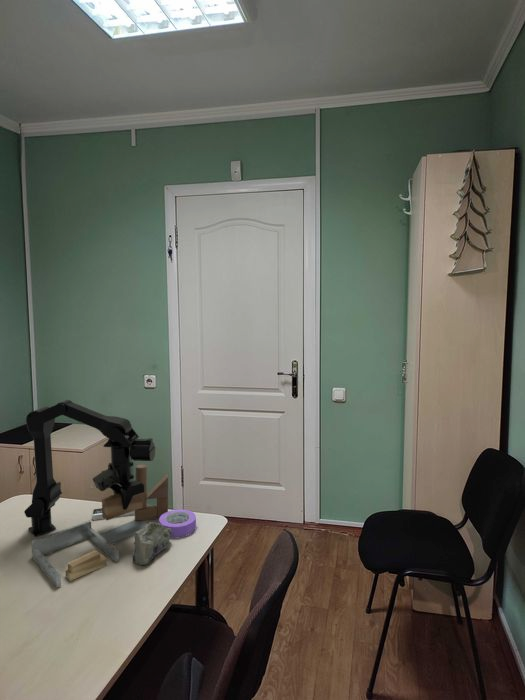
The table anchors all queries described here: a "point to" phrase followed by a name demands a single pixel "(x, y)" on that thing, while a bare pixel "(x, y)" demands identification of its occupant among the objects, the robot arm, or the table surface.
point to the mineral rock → (150, 542)
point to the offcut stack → (85, 565)
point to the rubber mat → (122, 531)
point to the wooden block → (152, 496)
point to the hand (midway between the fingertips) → (122, 507)
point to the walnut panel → (119, 505)
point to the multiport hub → (98, 515)
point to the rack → (66, 539)
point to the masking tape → (179, 516)
